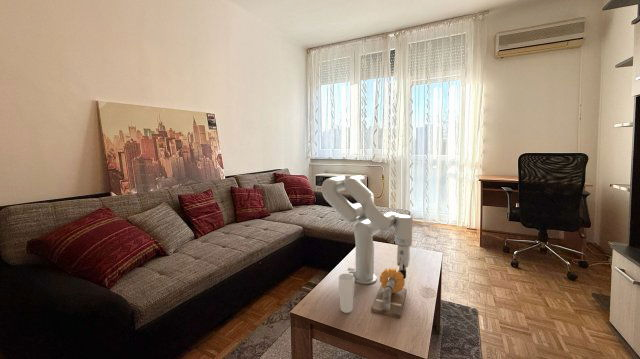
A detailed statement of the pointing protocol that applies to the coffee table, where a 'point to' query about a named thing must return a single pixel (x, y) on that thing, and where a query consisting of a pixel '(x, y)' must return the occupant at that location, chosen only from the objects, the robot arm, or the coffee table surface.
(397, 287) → the collar
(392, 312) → the pipe stand
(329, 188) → the robot arm
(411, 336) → the coffee table surface
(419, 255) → the coffee table surface
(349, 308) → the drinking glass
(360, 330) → the coffee table surface
